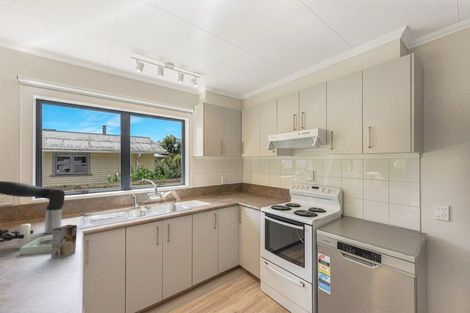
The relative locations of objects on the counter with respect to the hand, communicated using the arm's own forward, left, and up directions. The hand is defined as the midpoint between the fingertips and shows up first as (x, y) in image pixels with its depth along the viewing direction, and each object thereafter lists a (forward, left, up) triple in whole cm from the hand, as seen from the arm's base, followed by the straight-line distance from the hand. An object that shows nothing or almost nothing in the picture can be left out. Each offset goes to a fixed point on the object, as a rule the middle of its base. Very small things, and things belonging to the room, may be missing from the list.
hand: (28, 234), depth 126 cm
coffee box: (+18, +26, -8) cm, 33 cm away
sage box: (+3, +11, -8) cm, 14 cm away
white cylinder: (0, -2, -8) cm, 8 cm away
